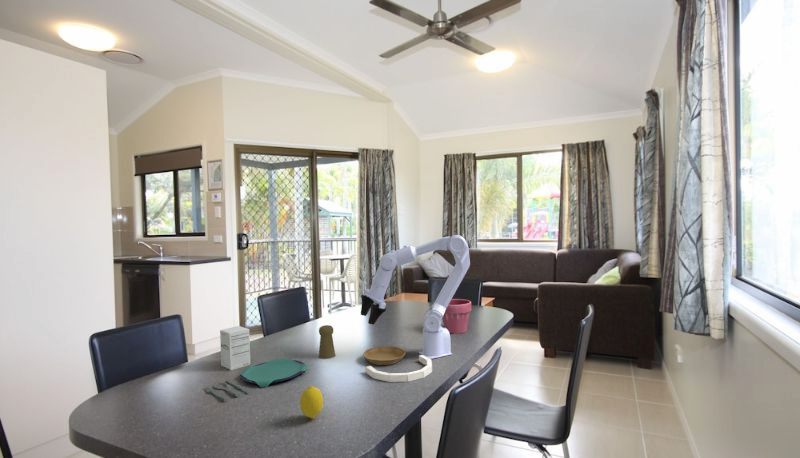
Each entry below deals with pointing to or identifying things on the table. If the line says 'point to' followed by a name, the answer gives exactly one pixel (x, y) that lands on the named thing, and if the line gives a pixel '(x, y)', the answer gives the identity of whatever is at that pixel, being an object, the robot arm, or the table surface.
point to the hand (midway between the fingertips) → (367, 319)
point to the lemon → (311, 402)
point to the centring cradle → (402, 376)
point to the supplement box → (235, 347)
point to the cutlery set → (264, 375)
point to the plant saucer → (384, 355)
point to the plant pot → (457, 316)
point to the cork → (326, 342)
